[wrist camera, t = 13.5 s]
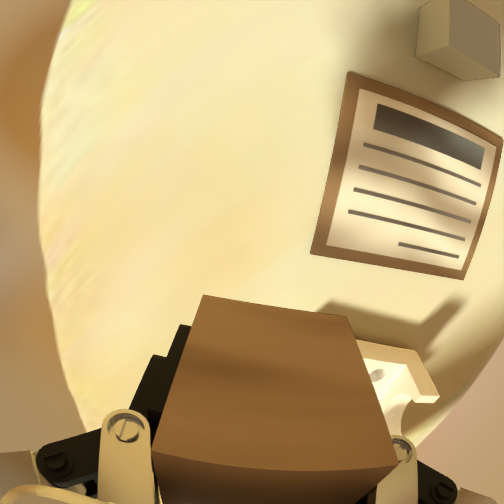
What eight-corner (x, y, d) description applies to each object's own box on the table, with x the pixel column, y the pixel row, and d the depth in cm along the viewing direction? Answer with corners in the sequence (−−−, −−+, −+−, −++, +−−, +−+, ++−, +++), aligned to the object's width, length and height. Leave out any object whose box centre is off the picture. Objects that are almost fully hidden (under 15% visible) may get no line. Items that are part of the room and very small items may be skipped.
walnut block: (307, 406, 12) (321, 527, 6) (194, 392, 12) (165, 515, 6) (346, 316, 10) (399, 464, 4) (203, 294, 10) (150, 449, 4)
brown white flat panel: (461, 278, 24) (464, 281, 23) (309, 252, 23) (310, 255, 23) (501, 140, 18) (504, 140, 18) (347, 73, 18) (348, 71, 17)
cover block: (499, 77, 12) (499, 23, 10) (448, 45, 12) (448, -10, 10) (462, 80, 17) (465, 33, 15) (415, 57, 17) (418, 8, 15)
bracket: (412, 344, 27) (440, 396, 20) (379, 389, 30) (396, 440, 23) (301, 321, 26) (312, 383, 19) (275, 373, 29) (277, 434, 22)
